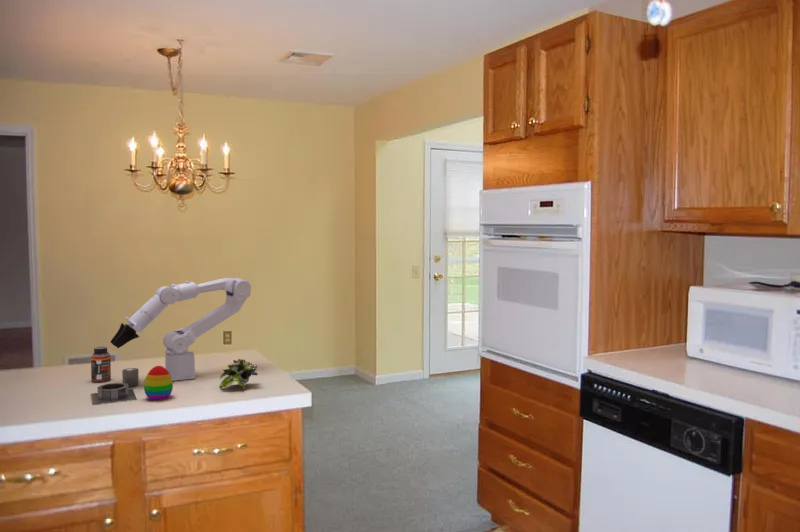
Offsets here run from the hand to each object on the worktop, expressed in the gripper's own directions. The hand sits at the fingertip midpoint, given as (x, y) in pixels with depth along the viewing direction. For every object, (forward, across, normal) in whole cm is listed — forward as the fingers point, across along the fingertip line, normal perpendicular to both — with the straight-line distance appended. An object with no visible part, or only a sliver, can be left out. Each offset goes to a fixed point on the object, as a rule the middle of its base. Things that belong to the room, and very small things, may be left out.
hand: (114, 345), depth 203 cm
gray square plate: (+11, +11, +10) cm, 19 cm away
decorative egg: (+3, +19, +18) cm, 26 cm away
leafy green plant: (-15, +19, +35) cm, 43 cm away
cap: (+6, 0, +13) cm, 15 cm away
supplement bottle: (+11, -12, +8) cm, 18 cm away
